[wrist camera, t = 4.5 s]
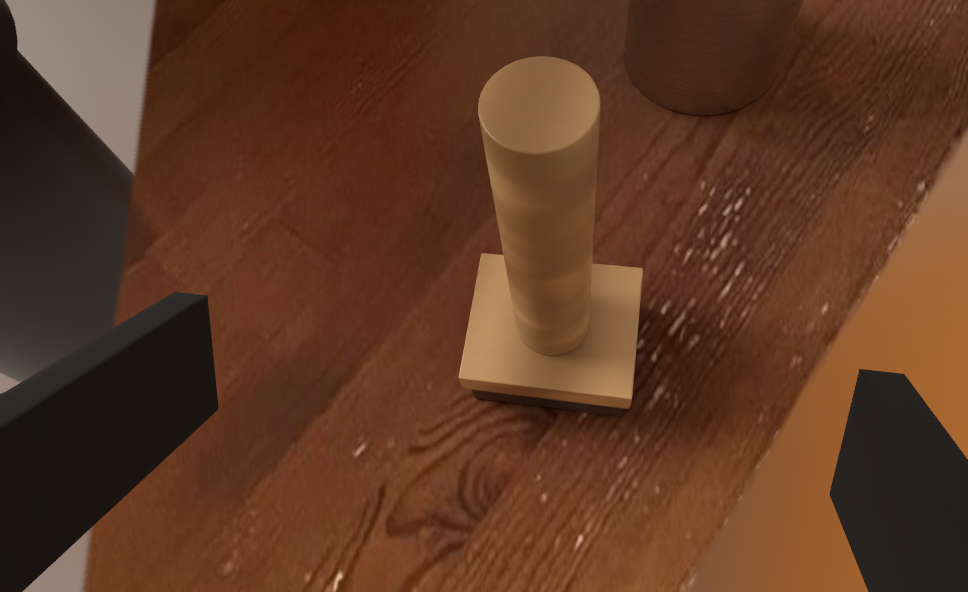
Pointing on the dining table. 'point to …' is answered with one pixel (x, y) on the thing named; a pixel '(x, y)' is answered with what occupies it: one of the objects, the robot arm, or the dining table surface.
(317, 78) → the dining table surface
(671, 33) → the bottle
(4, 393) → the robot arm
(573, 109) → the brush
